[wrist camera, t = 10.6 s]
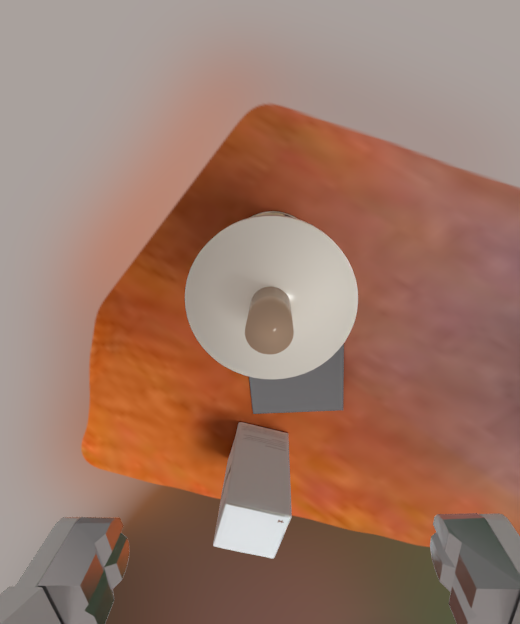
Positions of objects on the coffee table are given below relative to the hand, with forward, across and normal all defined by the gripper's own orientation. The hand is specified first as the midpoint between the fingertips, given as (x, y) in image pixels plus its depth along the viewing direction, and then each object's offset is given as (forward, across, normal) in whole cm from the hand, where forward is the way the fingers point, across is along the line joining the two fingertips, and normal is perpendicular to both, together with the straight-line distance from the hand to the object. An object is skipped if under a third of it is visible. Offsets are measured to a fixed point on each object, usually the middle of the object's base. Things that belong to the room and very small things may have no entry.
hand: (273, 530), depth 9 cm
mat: (+31, -2, +15) cm, 34 cm away
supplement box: (+31, +4, +27) cm, 41 cm away
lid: (+17, 0, 0) cm, 17 cm away
